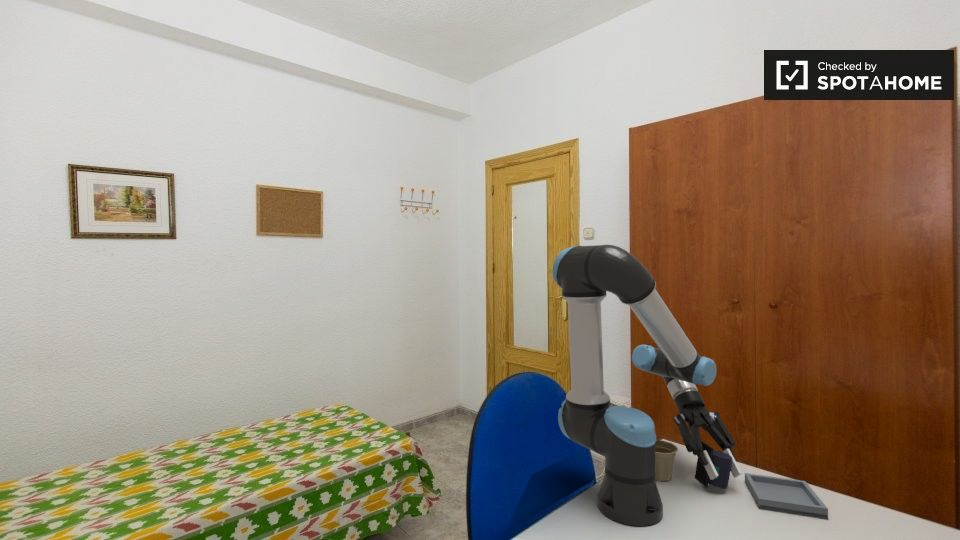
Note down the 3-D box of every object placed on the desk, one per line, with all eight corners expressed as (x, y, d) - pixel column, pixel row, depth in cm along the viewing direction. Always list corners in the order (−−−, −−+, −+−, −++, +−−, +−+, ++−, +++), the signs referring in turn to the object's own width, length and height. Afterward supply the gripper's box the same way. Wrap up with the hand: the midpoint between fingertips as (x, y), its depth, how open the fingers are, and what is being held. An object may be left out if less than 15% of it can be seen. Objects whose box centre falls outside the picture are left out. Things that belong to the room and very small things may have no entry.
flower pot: (681, 486, 118) (681, 454, 118) (644, 482, 120) (644, 451, 120) (673, 470, 127) (673, 440, 127) (639, 467, 129) (639, 438, 129)
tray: (759, 508, 107) (759, 498, 107) (744, 482, 120) (744, 473, 120) (827, 519, 103) (828, 508, 103) (805, 490, 116) (805, 481, 116)
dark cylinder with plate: (699, 487, 115) (703, 447, 115) (694, 478, 120) (698, 440, 120) (731, 494, 113) (735, 454, 113) (724, 484, 118) (729, 446, 118)
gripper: (708, 400, 134) (749, 478, 118) (651, 403, 130) (686, 485, 114) (721, 387, 129) (766, 468, 113) (662, 390, 125) (700, 474, 109)
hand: (726, 476), depth 114 cm, fingers closed on dark cylinder with plate, 6 cm apart
